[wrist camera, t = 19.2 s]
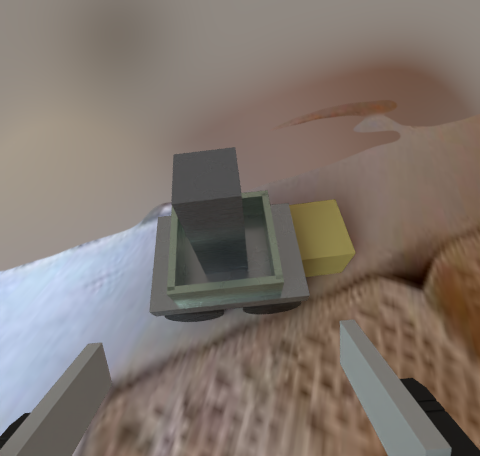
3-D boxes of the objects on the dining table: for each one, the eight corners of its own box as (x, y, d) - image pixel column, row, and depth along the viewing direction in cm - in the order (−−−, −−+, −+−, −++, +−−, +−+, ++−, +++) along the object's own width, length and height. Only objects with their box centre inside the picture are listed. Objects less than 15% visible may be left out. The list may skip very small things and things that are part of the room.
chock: (324, 224, 35) (335, 199, 30) (341, 272, 31) (355, 253, 27) (280, 229, 35) (284, 205, 30) (291, 279, 31) (297, 260, 27)
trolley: (282, 237, 34) (291, 184, 25) (298, 315, 29) (316, 283, 20) (177, 248, 34) (147, 200, 25) (173, 328, 29) (135, 302, 20)
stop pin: (243, 232, 26) (235, 147, 17) (248, 269, 24) (241, 195, 15) (204, 237, 26) (173, 154, 17) (205, 274, 24) (171, 204, 15)
